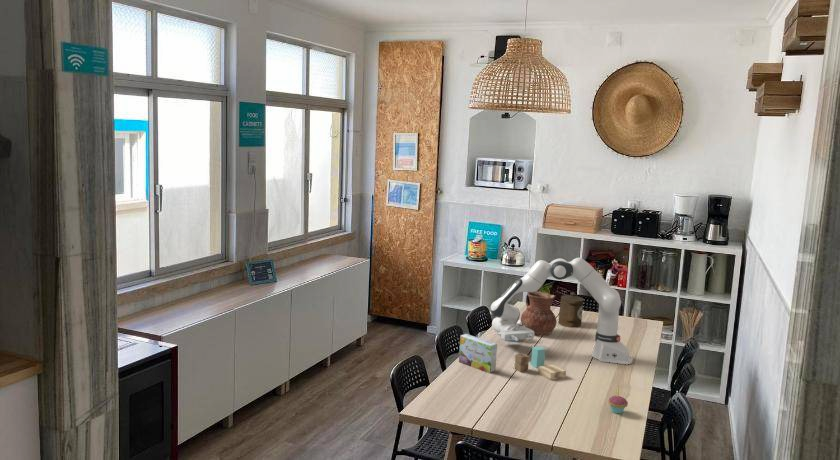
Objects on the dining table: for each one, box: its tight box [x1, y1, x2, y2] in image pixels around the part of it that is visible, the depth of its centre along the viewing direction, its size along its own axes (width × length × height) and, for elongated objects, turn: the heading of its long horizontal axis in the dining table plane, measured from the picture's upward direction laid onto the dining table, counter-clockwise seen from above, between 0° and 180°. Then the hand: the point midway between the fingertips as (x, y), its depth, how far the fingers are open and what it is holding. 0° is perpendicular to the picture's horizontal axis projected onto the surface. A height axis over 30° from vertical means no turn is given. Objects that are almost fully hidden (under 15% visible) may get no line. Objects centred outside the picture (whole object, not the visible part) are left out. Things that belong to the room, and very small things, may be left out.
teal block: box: [530, 345, 546, 369], centre depth 358 cm, size 5×5×10 cm
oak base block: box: [537, 363, 567, 381], centre depth 345 cm, size 10×10×4 cm
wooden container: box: [558, 291, 584, 328], centre depth 441 cm, size 15×15×22 cm
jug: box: [520, 290, 557, 336], centre depth 418 cm, size 22×21×25 cm
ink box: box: [504, 319, 522, 343], centre depth 402 cm, size 9×8×12 cm
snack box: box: [458, 333, 498, 374], centre depth 351 cm, size 21×6×15 cm, turn 47°
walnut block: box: [514, 353, 530, 373], centre depth 350 cm, size 5×5×8 cm
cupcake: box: [608, 386, 629, 414], centre depth 303 cm, size 9×8×12 cm
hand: (525, 338), depth 368 cm, fingers open, 8 cm apart
